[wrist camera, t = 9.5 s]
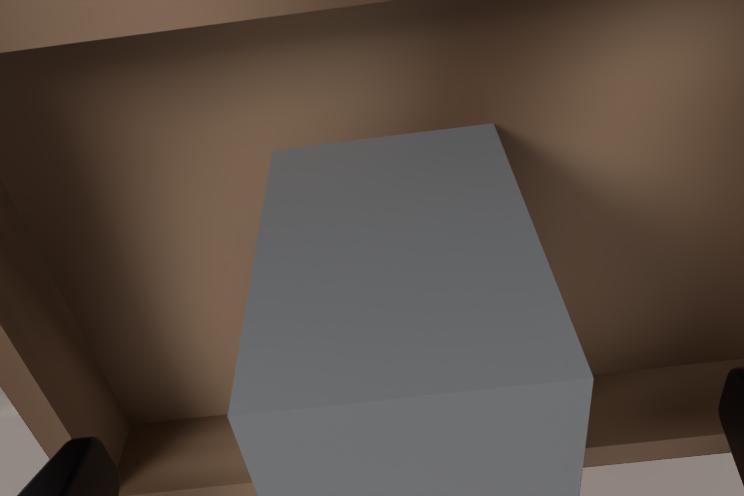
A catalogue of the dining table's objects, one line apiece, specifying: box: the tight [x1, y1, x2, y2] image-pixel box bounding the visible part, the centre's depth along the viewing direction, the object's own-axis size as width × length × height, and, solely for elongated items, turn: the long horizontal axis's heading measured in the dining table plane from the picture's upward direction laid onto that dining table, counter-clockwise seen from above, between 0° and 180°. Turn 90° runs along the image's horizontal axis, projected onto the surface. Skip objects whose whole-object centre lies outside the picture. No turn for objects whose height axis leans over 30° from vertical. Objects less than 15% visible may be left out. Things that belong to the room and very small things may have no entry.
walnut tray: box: [0, 0, 744, 496], centre depth 13 cm, size 17×11×2 cm, turn 97°
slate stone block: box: [227, 123, 594, 496], centre depth 11 cm, size 4×4×6 cm
